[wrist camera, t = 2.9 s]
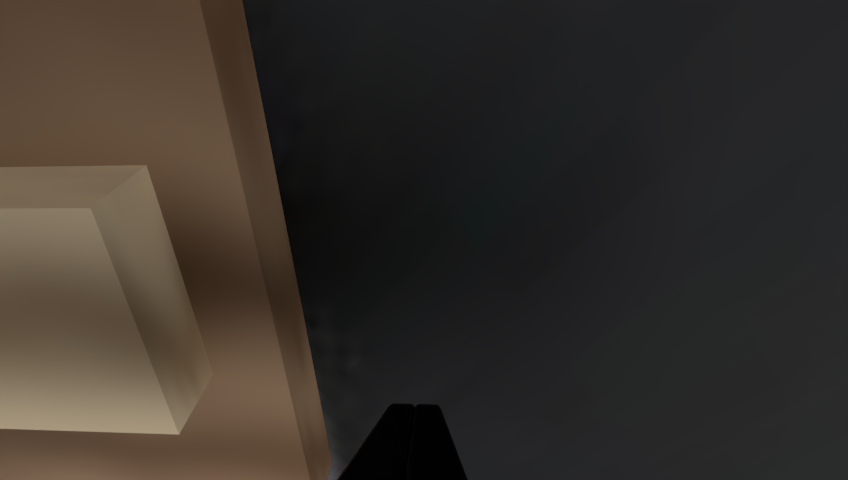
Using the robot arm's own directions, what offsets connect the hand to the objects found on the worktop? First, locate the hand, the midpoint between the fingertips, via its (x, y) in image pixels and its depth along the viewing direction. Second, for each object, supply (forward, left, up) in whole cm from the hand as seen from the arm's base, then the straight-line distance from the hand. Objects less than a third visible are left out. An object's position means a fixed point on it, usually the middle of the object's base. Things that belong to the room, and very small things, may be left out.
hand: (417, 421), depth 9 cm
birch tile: (0, +10, -3) cm, 10 cm away
